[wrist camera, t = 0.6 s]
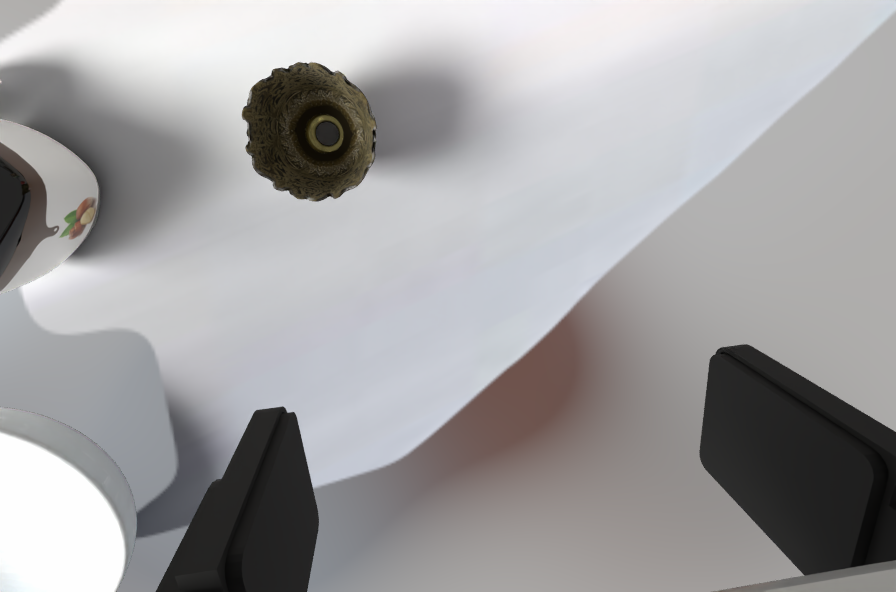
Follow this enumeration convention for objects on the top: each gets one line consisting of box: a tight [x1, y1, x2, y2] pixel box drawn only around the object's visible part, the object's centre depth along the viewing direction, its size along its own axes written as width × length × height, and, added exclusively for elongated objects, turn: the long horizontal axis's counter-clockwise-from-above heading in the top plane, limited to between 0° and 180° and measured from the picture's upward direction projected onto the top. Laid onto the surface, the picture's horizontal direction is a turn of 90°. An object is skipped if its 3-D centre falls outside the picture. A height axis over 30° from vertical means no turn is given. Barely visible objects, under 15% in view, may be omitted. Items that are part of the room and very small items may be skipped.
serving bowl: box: [0, 407, 137, 592], centre depth 37 cm, size 21×21×7 cm
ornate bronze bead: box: [242, 62, 377, 201], centre depth 30 cm, size 8×7×8 cm
